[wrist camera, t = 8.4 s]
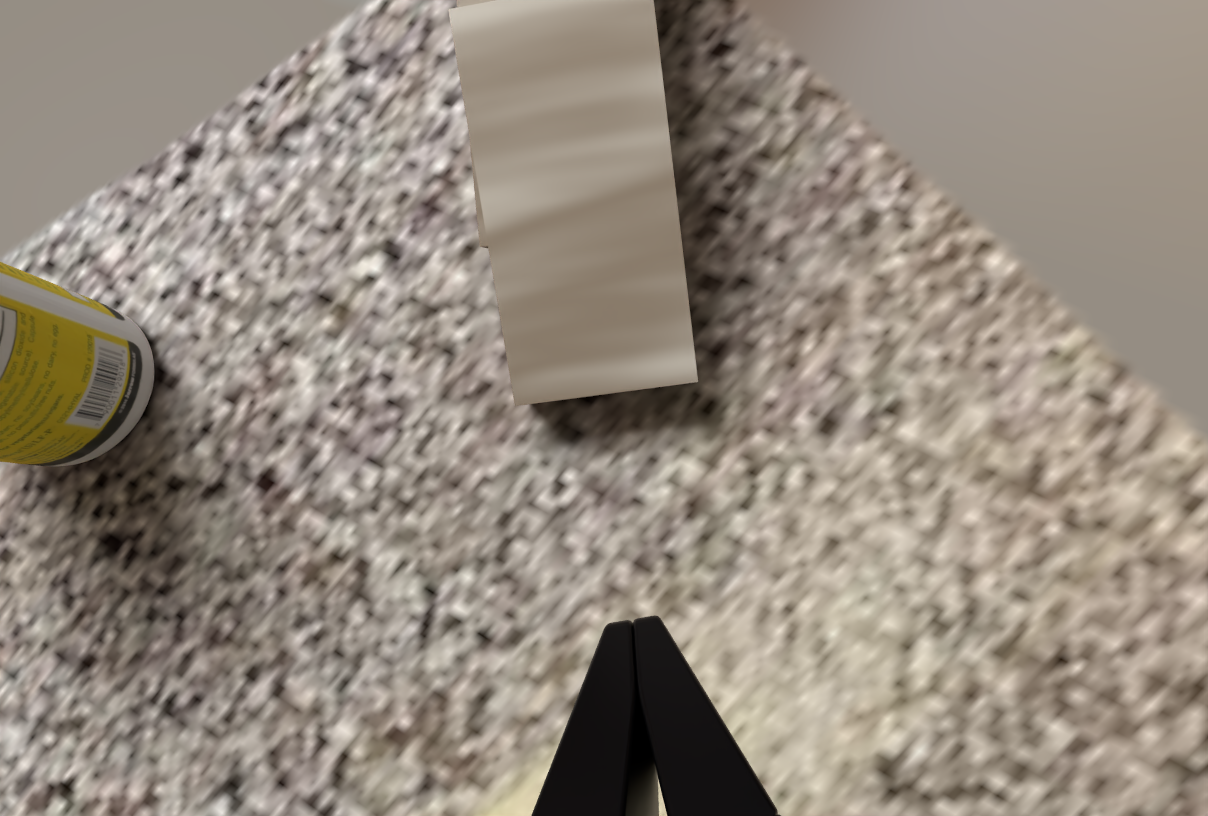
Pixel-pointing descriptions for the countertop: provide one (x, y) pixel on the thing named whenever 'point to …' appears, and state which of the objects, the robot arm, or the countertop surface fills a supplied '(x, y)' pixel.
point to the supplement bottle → (66, 373)
